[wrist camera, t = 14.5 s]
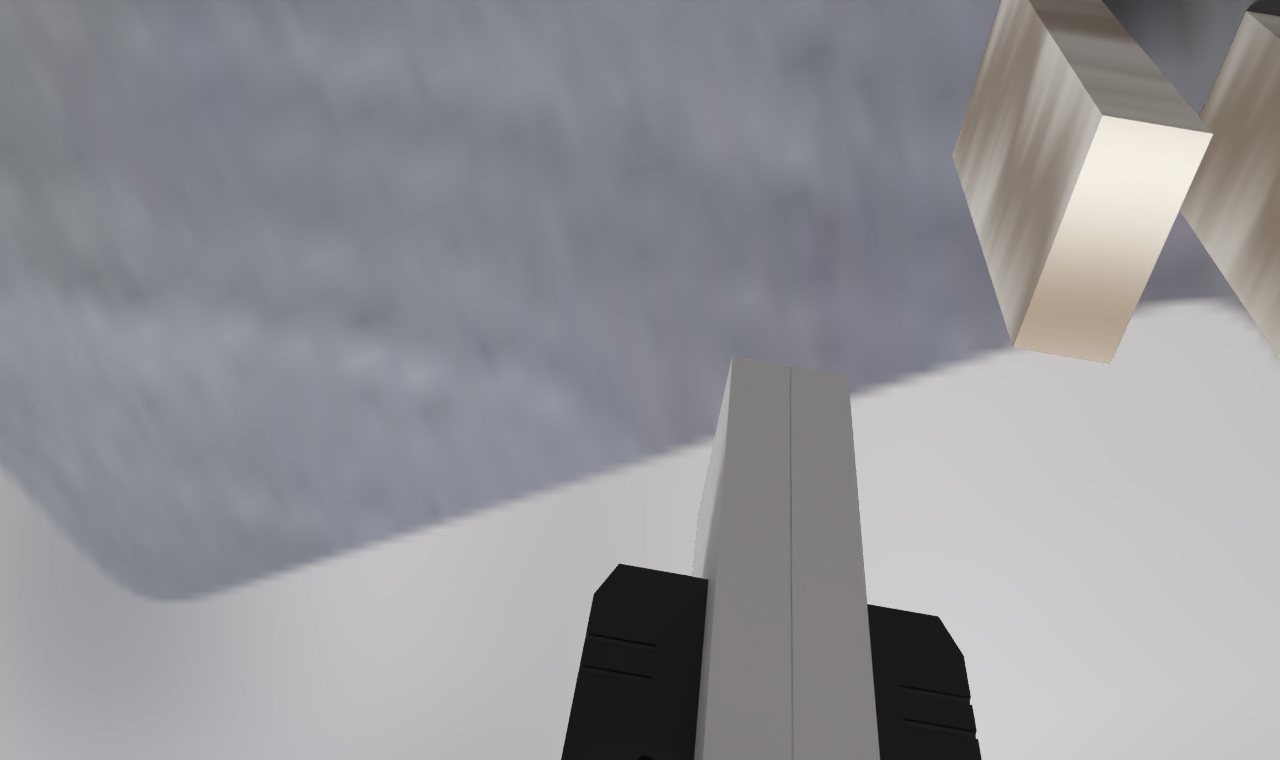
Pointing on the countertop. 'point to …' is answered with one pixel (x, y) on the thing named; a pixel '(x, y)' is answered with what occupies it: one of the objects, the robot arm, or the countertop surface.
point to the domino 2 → (1244, 172)
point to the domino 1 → (1073, 172)
